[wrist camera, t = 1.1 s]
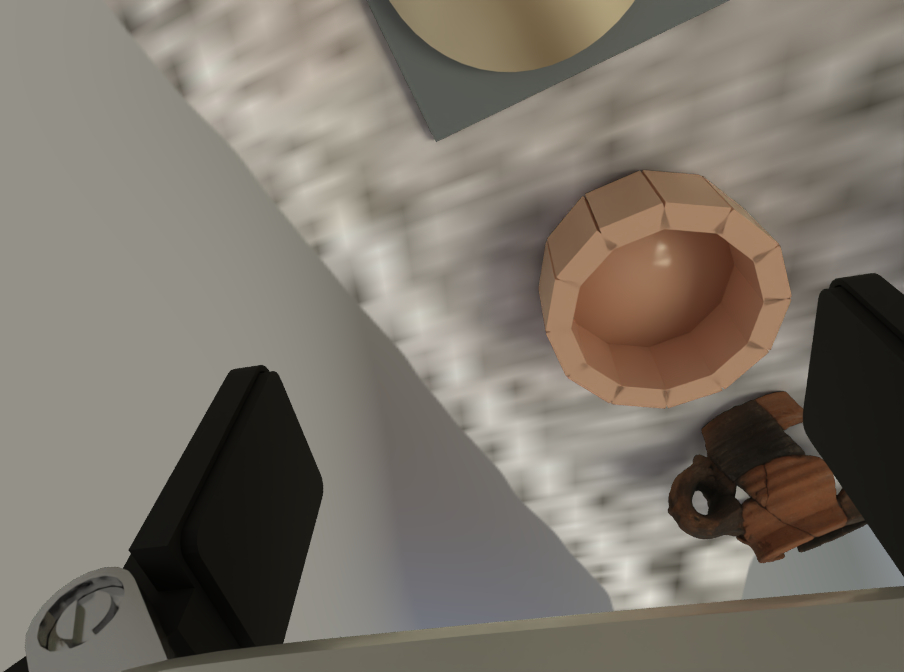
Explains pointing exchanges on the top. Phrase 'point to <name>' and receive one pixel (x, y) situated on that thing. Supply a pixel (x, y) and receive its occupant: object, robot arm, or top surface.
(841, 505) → the pottery mug
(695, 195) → the bowl
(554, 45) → the lid
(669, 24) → the mat
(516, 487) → the top surface
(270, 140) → the top surface
